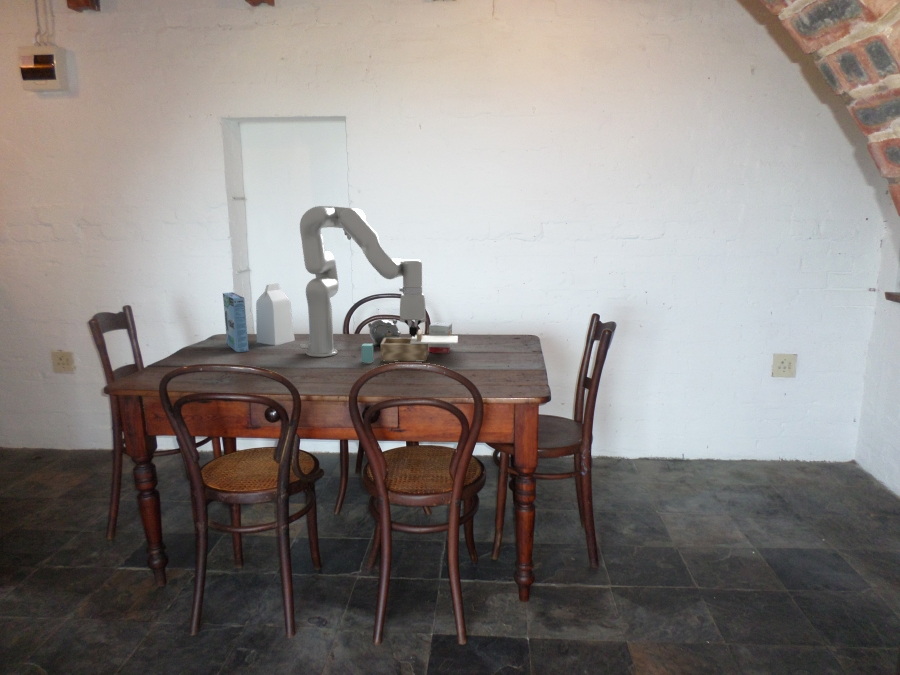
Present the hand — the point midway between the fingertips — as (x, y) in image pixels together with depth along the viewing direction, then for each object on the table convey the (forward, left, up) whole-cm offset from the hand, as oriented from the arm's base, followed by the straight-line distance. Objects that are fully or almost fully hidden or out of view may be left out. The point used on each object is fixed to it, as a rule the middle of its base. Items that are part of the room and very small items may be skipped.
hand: (413, 336), depth 253 cm
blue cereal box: (-77, +16, -9) cm, 80 cm away
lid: (+9, 0, -2) cm, 9 cm away
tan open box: (-3, 0, -9) cm, 10 cm away
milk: (-64, +29, -9) cm, 71 cm away
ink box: (+11, +13, -9) cm, 19 cm away
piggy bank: (-14, +23, -9) cm, 29 cm away
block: (-17, -7, -9) cm, 21 cm away
